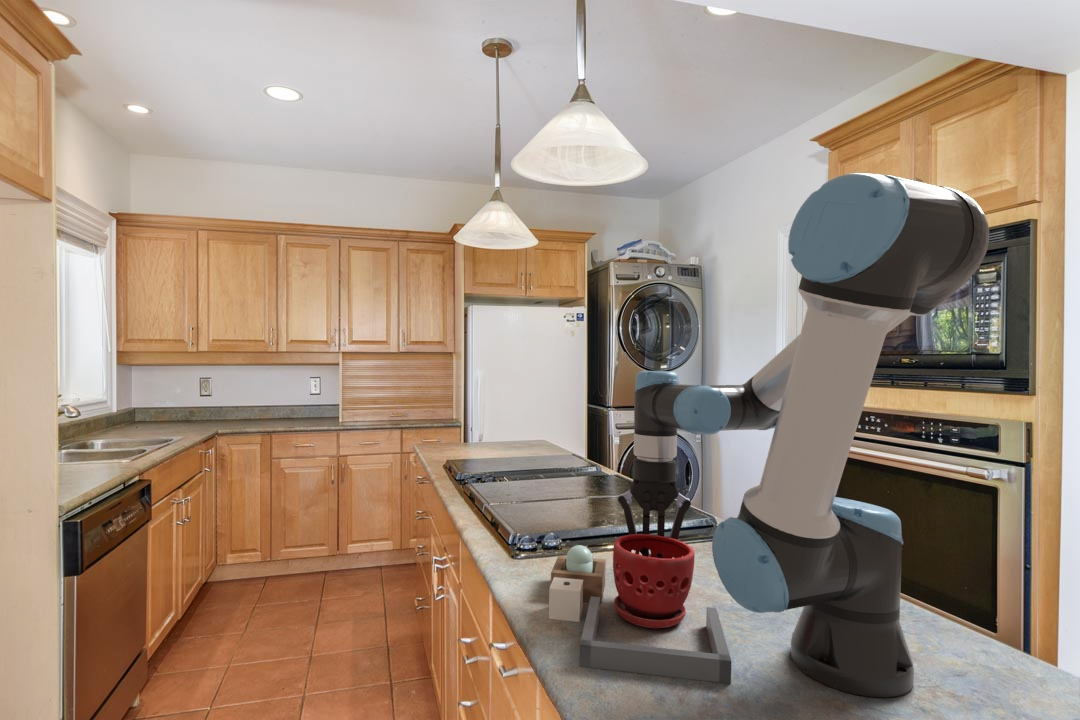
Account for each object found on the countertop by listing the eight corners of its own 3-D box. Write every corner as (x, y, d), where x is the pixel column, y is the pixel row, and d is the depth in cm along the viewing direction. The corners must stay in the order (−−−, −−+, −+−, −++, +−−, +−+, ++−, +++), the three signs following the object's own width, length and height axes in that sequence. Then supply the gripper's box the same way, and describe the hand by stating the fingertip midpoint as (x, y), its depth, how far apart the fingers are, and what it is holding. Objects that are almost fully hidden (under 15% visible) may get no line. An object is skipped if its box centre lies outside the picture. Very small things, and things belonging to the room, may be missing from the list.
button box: (605, 583, 110) (605, 559, 110) (601, 602, 101) (602, 576, 101) (557, 578, 112) (558, 555, 111) (550, 597, 103) (551, 572, 103)
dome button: (593, 579, 108) (594, 542, 108) (590, 589, 103) (591, 551, 103) (567, 577, 109) (568, 540, 109) (564, 587, 104) (564, 549, 104)
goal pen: (715, 626, 93) (716, 608, 93) (730, 683, 77) (731, 661, 77) (590, 614, 96) (590, 596, 96) (579, 666, 80) (579, 644, 80)
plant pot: (638, 641, 87) (640, 561, 87) (597, 606, 100) (599, 536, 100) (709, 628, 92) (711, 552, 92) (662, 596, 105) (664, 529, 104)
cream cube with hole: (582, 609, 99) (583, 578, 99) (579, 622, 94) (580, 590, 94) (553, 606, 100) (554, 575, 99) (548, 619, 95) (549, 587, 95)
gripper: (691, 456, 106) (688, 585, 106) (619, 452, 108) (616, 579, 109) (694, 463, 99) (691, 602, 99) (616, 459, 101) (614, 595, 101)
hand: (652, 590), depth 104 cm, fingers closed
